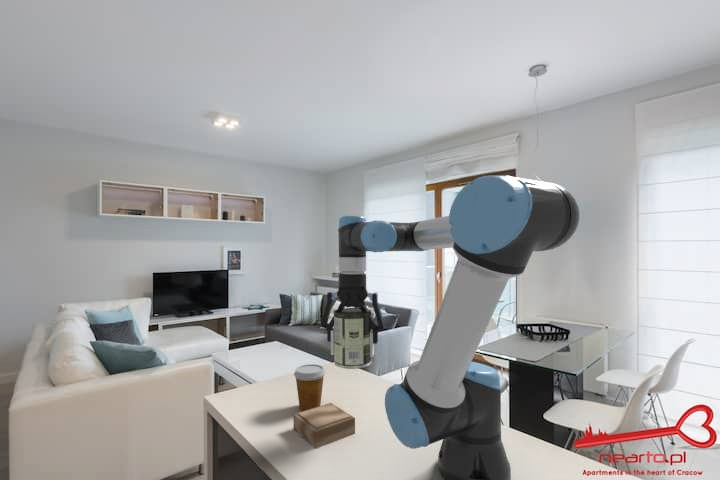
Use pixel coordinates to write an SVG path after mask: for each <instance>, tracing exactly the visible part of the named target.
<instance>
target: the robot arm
mask: <svg viewBox="0 0 720 480" xmlns="http://www.w3.org/2000/svg"><path fill="white" fill-rule="evenodd" d="M579 222H580V208H579V206H578V204H577V201H576V199H575V197H574V196H573V195H572V193H570V192H569V191H568V190H567V189H566V188H564V187H563V186H561V185H559V184H556V183H554V182H549V181H544V180H543V181H540V180H535V179H529V178H522V177H517V176H511V175H508V174H505V175H504V174H503V175H502V174H500V175H483V176H480V177H477V178H475V179H474V180H472V181H470V182H468V183H467V184H465V185H464V187H462V188H461V189H460V191H459V192H458V193H457V194H456V196H455V198H454V200H453V202H452V203H451V206H450V209H449V215H446V216H445V215H444V216H440V217H435V218H431V219H426V220H420V221H415V222H397V221H396V222H395V221H393V222H392V221H391V222H390V221H386V220H372V221H367V218H366V217H365V216H363V215H343V216H341V217H340V218H339V220H338V230H337V231H338V271H339V274H338V288H337V289H338V290H337V291H329V292H327V293H326V296H327V297H326V299H327V300H326V304H325V308H324V312H323V315H322V317H321V318H322V319H321V322H320V328H322V329H326V333H327V338H326V339H327V342H330V355H332V356H334V315H333V316H332V318H331V320H330V321H329V319H330V316H331V311H332V307H333V304H334V302H335V301H334V300H336V298H337V297H338V299H339V300H340V304H339V305H338V307H337V309H336V310H337V311H336V312H342V311H343V309H344V308H360V310H361V311H362V313H368V311H369V310H370V309H369V308H368V306H367V304H366V303H365V300H366V299H367V298H368V299H369V301H371V303H372V309H373V310H374V315H375V318H376V321H375V319H374V317H373V315H371V316H369V325H370V327H371V331H370V357H371V358H373V357H374V355H375V345H376V344H377V343H378V341H379V332H380V331H383V330H384V329H385V322H384V318H383V315H382V312H381V308H380V305H379V298H378V296H379V294H378V292H368V290H367V274H366V271H367V252H371V253H384V252H425V251H429V250H439V249H451V248H452V250H453V252H454V253H455V255H456V257H457V260H456V263H455V267H454V269H453V271H452V274H451V277H450V279H449V282H448V284H447V286H446V290H445V291H444V295H443V297H442V300H441V303H440V305H439V307H438V308H439V309H438V311H437V313H436V316H435V319H434V321H433V323H432V327H431V330H430V332H429V335H428V336H427V337H428V338H427V339H426V342H425V344H424V348H423V349H422V353H421V356H420V358H419V360H416V361H414V362H412V363H410V365H409V366H408V367H407V370H406V371H405V375H404V378H403V381H402V382H401V383H399V384H398V383H394V384H393V385H392V386H389V387H388V389H386V392H385V395H384V407H385V408H384V409H385V413H386V417H387V421H388V425H390V428H391V430H392V433H394V435H395V437H396V438H397V440H398V441H399V442H400V443H401V444H402V445H403V446H404V447H406V448H409V449H413V450H415V449H416V450H417V449H419V448H423V447H424V448H425V447H428V446H429V445H432V444H435V443H437V442H440V441H442V442H441V445H440V448H439V452H438V455H437V463H438V464H437V466H438V467H437V468H438V471H439V473H440V476H442V477H443V479H444V480H512V474H511V471H512V470H511V468H512V467H511V463H510V461H509V459H508V457H507V452H506V450H505V449H506V448H505V447H504V443H503V440H502V418H501V417H502V416H501V415H502V409H501V408H502V407H501V406H502V405H501V403H502V401H501V400H502V399H501V398H502V397H501V395H502V394H501V393H502V392H501V391H502V387H501V379H500V374H499V373H498V371H497V370H496V369H495V368H494V367H491V366H489V365H487V364H483V363H479V362H475V361H473V359H474V357H475V355H476V352H477V351H478V347H479V346H480V343H481V341H482V340H483V337H484V335H485V333H486V330H487V329H488V328H487V327H488V326H489V323H490V321H491V319H492V317H493V315H494V313H495V310H496V308H497V306H498V304H499V302H500V299H501V297H502V294H503V293H504V291H505V289H506V287H507V284H508V282H509V281H510V279H512V278H515V277H519V276H521V275H522V274H524V272H525V269H526V267H527V266H528V263H529V261H530V258H531V257H532V255H533V253H534V252H544V251H551V250H554V249H556V248H559V247H562V245H564V244H565V243H567V242H568V241H569V240H570V239H571V238H572V237H573V235H574V234H575V232H576V230H577V229H578V226H579ZM328 321H329V322H328ZM376 322H377V323H376Z"/></svg>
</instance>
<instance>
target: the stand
mask: <svg viewBox="0 0 720 480" xmlns="http://www.w3.org/2000/svg"><path fill="white" fill-rule="evenodd" d="M292 415H293V430H294V431H295V432H297V434H298V435H300V437H302V438H303V439H304V440H306V442H307V443H308V444H310V445H311V446H312V447H313V448H314V449H318V448H321V447H323V446H326V445H329V444H331V443H333V442H337V441H338V440H341V439H344V438H347V437H349V436H352V435H354V434H356V417H355V416H352V415H351V414H349V413H348V412H347V411H345V410H343V409H342V408H340V407H339V406H337V405H335V403H332V402H330V403H326V404H323V405H322V404H321V405H320V406H319V407H316V408H312V409H309V410H306V411H300V412H297V413H294V414H292Z"/></svg>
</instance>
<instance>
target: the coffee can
mask: <svg viewBox="0 0 720 480" xmlns="http://www.w3.org/2000/svg"><path fill="white" fill-rule="evenodd" d="M368 310H369V311H368V313H362V311H361V310H360V308H359V307H345V308H344V309H343V311H342V312H336V311H337V309H335V310H334V311H333V316H334V326H333V328H334V355H333V356H334V357H333V358H334V361H333V364H334V365H335V366H336V367H338V368H340V369H346V370H347V369H348V370H357V369H363V368H367V367H369V366H370V365H372V357H370V331H371V330H372V329H371V327H370V325H369V316H372V310H370V309H368Z"/></svg>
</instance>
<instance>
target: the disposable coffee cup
mask: <svg viewBox="0 0 720 480" xmlns="http://www.w3.org/2000/svg"><path fill="white" fill-rule="evenodd" d="M293 375H294V378H295V381H296V389H297V397H298V398H297V399H298V406H299V407H298V408H299V410H300V412H303V411H306V410H309V409H312V408H316V407H319V406H321V405H322V403H321V402H322V395H323V394H322V393H323V384H324V377H325V375H326V371H325V368H324V366H323V365H320V364H313V363H312V364H311V363H310V364H309V363H308V364H307V363H306V364H302V365H299V366H297V367H296V368H295V371H294V373H293Z"/></svg>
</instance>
